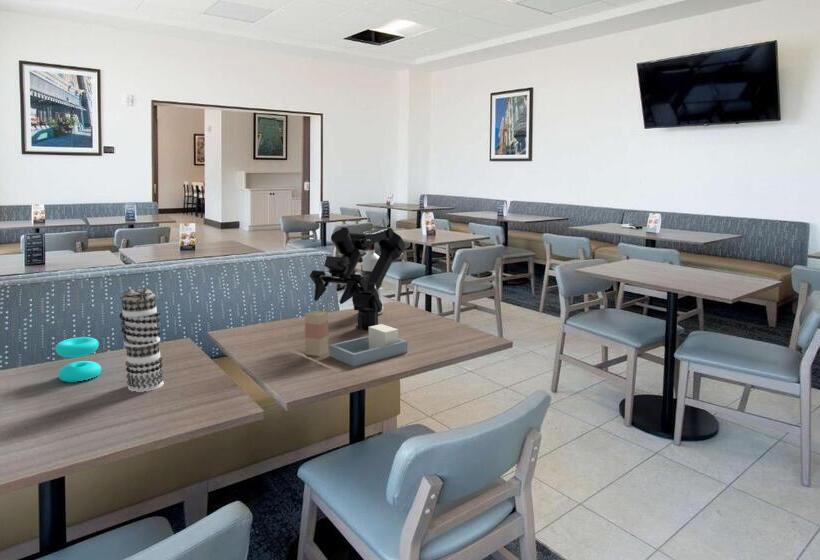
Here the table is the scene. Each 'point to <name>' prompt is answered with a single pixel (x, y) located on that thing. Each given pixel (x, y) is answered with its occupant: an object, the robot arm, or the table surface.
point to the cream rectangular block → (382, 336)
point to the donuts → (81, 368)
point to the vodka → (371, 268)
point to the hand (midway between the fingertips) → (327, 301)
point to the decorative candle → (141, 340)
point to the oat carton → (316, 332)
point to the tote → (364, 351)
